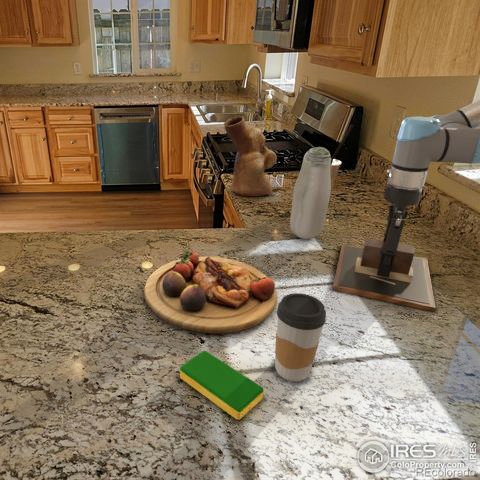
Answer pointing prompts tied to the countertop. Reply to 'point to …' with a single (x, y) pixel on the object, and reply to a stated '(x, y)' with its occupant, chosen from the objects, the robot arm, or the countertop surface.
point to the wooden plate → (210, 294)
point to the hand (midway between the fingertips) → (382, 270)
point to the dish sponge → (221, 384)
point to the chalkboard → (384, 282)
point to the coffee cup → (298, 335)
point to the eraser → (373, 256)
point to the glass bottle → (311, 194)
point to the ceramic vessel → (249, 158)
